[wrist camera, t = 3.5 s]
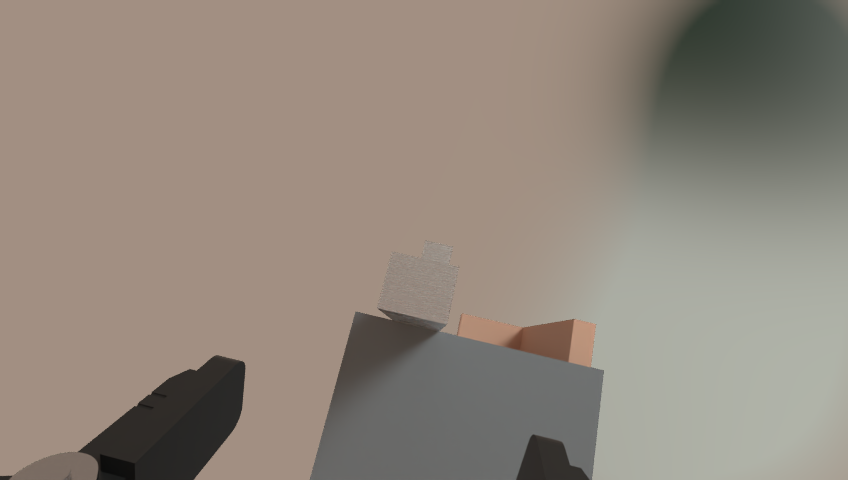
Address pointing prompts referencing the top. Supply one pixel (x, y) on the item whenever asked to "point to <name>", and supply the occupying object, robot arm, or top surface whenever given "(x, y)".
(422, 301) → the aluminium bracket
